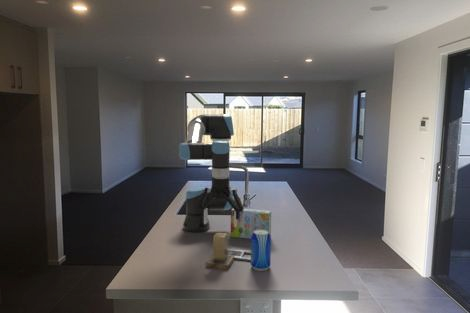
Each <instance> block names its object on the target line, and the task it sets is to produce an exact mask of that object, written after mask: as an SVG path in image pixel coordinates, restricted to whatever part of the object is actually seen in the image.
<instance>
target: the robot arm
mask: <svg viewBox="0 0 470 313" xmlns="http://www.w3.org/2000/svg"><path fill="white" fill-rule="evenodd" d="M186 131H187V136H186V139H185V142H181V143H179V147H178V149H179V151H178V154H179V156H178V157H179V159H180V160H183V161H185V160H186V161H192V160H193V161H198V160H199V161H201V160H203V161H205V160H207V161H208V160H209V161H211V176H212V178H211V185H210V186H195V187H191V188H188V189H187V190H186V193H185V214H186V215H185V216H184V217H185V218H184V219H183V220H184V221H183V224H182V225H183V226H182V229H183V230H184V231H186V232H191V233H201V232H205V231H208V230H210V227H211V226H210V225H211V224H210V221H209V217H208V216H209V215H208V211H229V210H230V209H234V210H235V212H234V227H236V226H237V219H239V217H240V211H243V209H245V208H244V206H243V203H242V201H241V199H240V196H239V194H238V189H237V188H236V187H235V188H233V189H232V186H231V185H230V157H231V156H230V151H231V149H230V148H231V147H230V141H231V139H232V137H233V136H234V134H235V133H234V123H233V119H232V116H231V115H230V114H227V113H226V114H225V113H222V114H221V113H219V114H211V113H209V114H207V113H204V114H200V115H196V116H195V117H193V118H192V119H191V120H190V121H189V122H188V123H187V128H186ZM204 136H210V137H209V138H210V140H211V141H212V142H203V137H204ZM233 199H234V200H233Z"/></svg>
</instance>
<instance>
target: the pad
mask: <svg viewBox="0 0 470 313" xmlns="http://www.w3.org/2000/svg"><path fill="white" fill-rule="evenodd" d="M234 261H235V260H234V256H232V255H227V259H226V260H225V261H224V262H222V261H214V260H213V253H212V254H211V256H210V257H209V258H208V259H207V260H206V261H205V267H206V268H212V269H220V270H227V271H228V270H229V269H230V268H231V267H232V264H233V263H234Z"/></svg>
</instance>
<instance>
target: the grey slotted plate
mask: <svg viewBox="0 0 470 313" xmlns="http://www.w3.org/2000/svg"><path fill="white" fill-rule="evenodd" d="M245 254H246V255H251V250H244V249H234V248H228V249H227V255H232V256H234V261H235V260H236V261H243V262H251V257H245V256H244V255H245Z"/></svg>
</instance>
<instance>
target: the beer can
mask: <svg viewBox="0 0 470 313" xmlns="http://www.w3.org/2000/svg"><path fill="white" fill-rule="evenodd" d="M271 250H272V235H271V236H270V234H269V231H267V230H264V229H257V230H254V233H253V234H252V236H251V239H250V251H251V254H250V258H251V261H250V266H251V267H252V269H253V270H254V271H258V272H265V271H267V270H269V268H270V267H271V254H272V253H271Z"/></svg>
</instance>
